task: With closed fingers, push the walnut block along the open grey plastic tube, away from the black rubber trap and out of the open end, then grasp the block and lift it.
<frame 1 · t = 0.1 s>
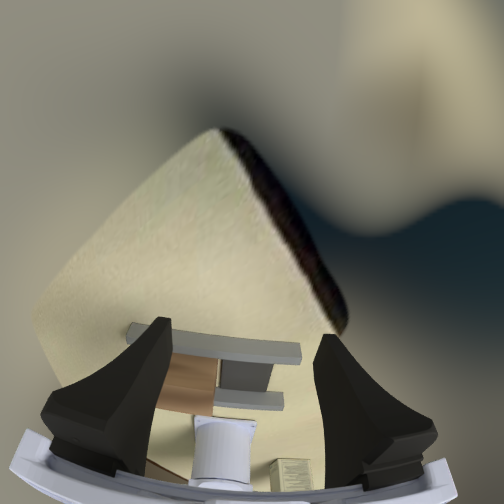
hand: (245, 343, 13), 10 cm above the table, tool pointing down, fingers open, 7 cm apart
skincare box: (290, 461, 40), on the table
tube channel: (212, 366, 28), on the table
walnut block: (188, 362, 28), on the table
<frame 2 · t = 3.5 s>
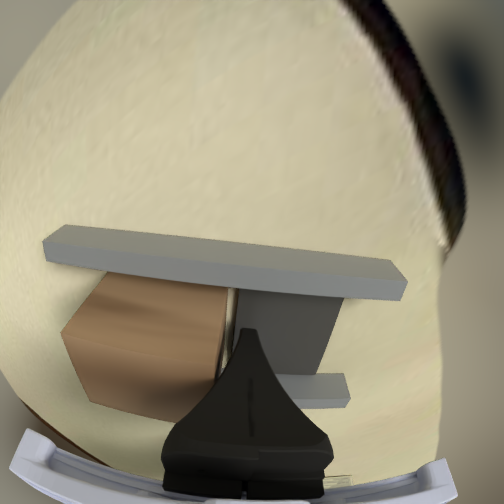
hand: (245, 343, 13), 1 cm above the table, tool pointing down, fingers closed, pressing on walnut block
skincare box: (324, 480, 26), on the table
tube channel: (215, 322, 14), on the table
walnut block: (168, 314, 14), on the table, touching gripper
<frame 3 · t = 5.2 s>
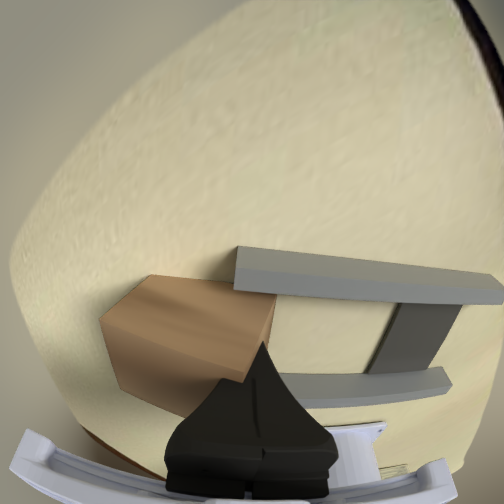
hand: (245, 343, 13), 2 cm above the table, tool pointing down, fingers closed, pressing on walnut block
skincare box: (383, 471, 27), on the table
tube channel: (371, 333, 15), on the table
walnut block: (214, 316, 15), on the table, tilted 16°, touching gripper
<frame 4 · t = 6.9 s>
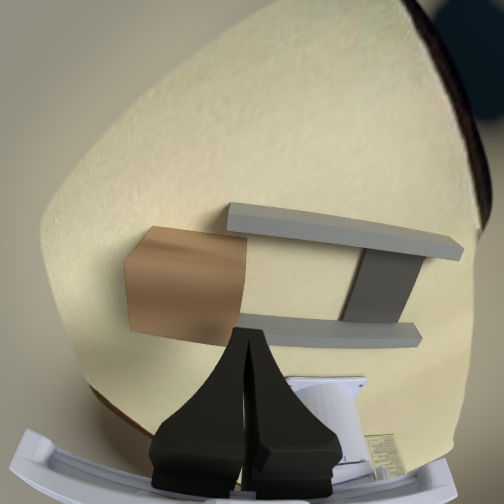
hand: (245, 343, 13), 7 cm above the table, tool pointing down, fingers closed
skincare box: (371, 440, 32), on the table
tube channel: (341, 280, 19), on the table
walnut block: (196, 262, 19), on the table
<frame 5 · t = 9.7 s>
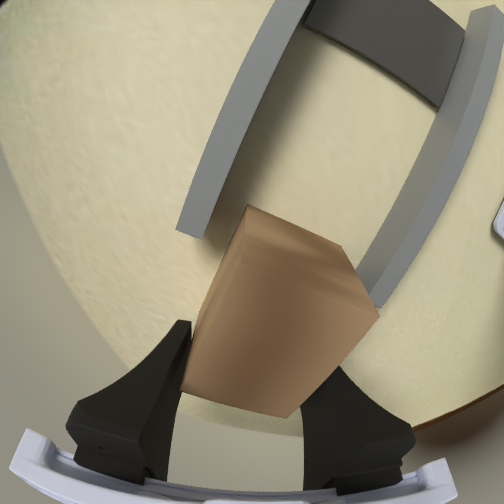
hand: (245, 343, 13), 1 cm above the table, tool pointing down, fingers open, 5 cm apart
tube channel: (367, 83, 9), on the table
walnut block: (266, 281, 13), on the table, touching gripper
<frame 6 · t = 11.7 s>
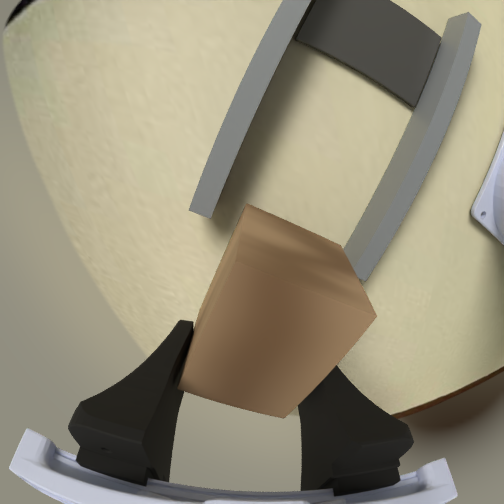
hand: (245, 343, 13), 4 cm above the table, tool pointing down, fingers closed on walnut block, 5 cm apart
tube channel: (350, 88, 11), on the table
walnut block: (265, 280, 13), point 2 cm above the table, touching gripper
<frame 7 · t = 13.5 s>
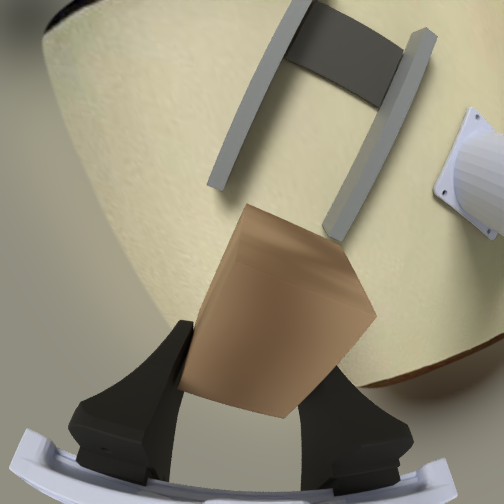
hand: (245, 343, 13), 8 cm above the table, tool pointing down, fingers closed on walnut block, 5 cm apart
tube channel: (327, 95, 16), on the table
walnut block: (265, 280, 13), point 7 cm above the table, touching gripper
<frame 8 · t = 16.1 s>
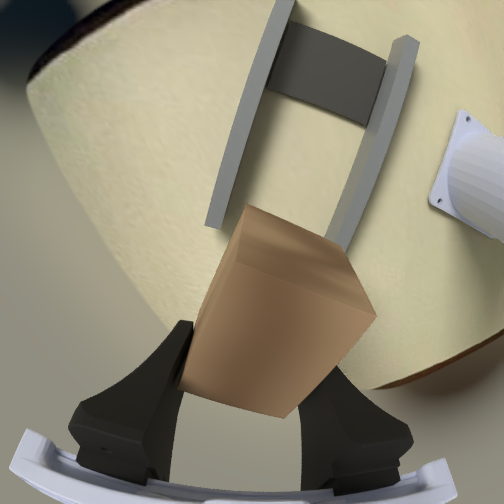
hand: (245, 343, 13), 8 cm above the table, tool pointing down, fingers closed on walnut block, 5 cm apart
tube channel: (313, 120, 16), on the table
walnut block: (265, 280, 13), point 7 cm above the table, touching gripper
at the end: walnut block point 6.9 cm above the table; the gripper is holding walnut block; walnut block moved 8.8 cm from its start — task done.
